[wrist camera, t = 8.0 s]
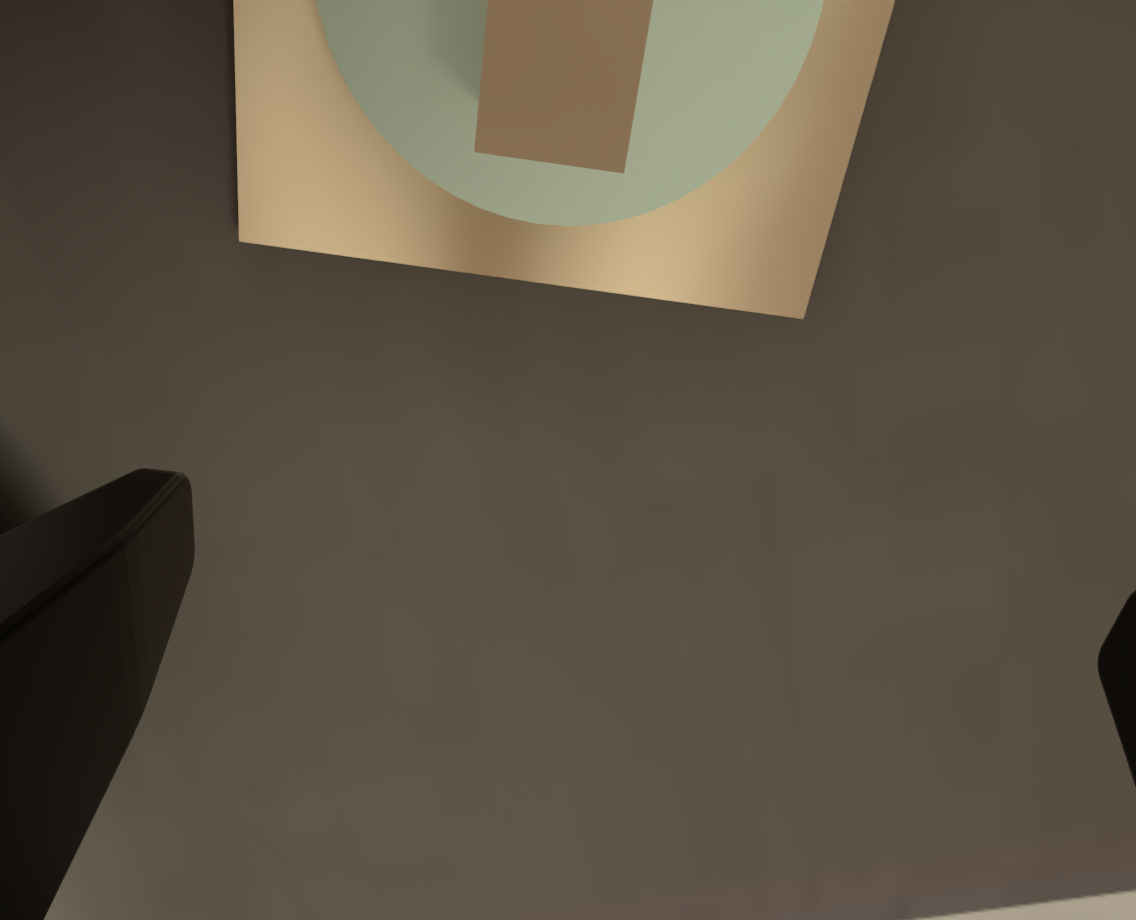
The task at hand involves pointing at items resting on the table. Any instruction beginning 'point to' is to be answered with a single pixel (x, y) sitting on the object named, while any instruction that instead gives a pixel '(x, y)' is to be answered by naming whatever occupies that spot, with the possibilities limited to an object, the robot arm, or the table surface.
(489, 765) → the table surface
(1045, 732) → the table surface
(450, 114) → the cover
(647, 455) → the table surface
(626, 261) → the mat
